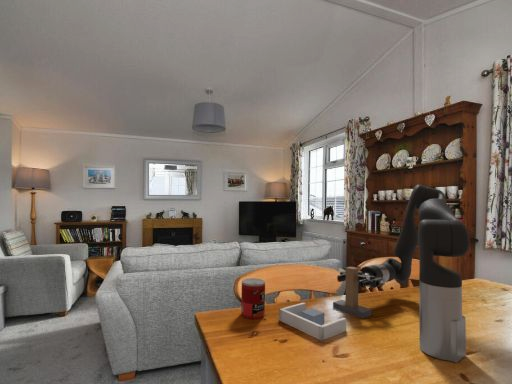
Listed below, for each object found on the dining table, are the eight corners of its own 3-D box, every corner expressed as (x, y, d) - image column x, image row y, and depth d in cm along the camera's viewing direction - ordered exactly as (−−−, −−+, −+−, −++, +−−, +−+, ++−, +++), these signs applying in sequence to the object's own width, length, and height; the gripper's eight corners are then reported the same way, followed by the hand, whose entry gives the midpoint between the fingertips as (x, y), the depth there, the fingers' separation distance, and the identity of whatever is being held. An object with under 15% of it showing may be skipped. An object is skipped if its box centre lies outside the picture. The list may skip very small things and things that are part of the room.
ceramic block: (324, 326, 89) (324, 312, 89) (313, 330, 86) (313, 316, 86) (311, 320, 93) (311, 308, 93) (300, 324, 90) (300, 311, 90)
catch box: (346, 330, 86) (346, 318, 86) (321, 340, 79) (321, 327, 79) (303, 312, 99) (303, 302, 99) (279, 320, 93) (279, 309, 93)
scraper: (371, 315, 98) (371, 270, 99) (363, 318, 95) (363, 272, 96) (341, 305, 108) (341, 264, 109) (333, 307, 105) (333, 265, 106)
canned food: (255, 321, 91) (256, 285, 92) (236, 315, 96) (236, 281, 97) (269, 314, 97) (270, 280, 98) (250, 308, 102) (251, 276, 103)
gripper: (357, 261, 117) (331, 266, 107) (392, 268, 105) (367, 274, 95) (357, 281, 116) (331, 287, 106) (392, 289, 105) (367, 297, 95)
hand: (348, 281), depth 101 cm, fingers open, 8 cm apart
